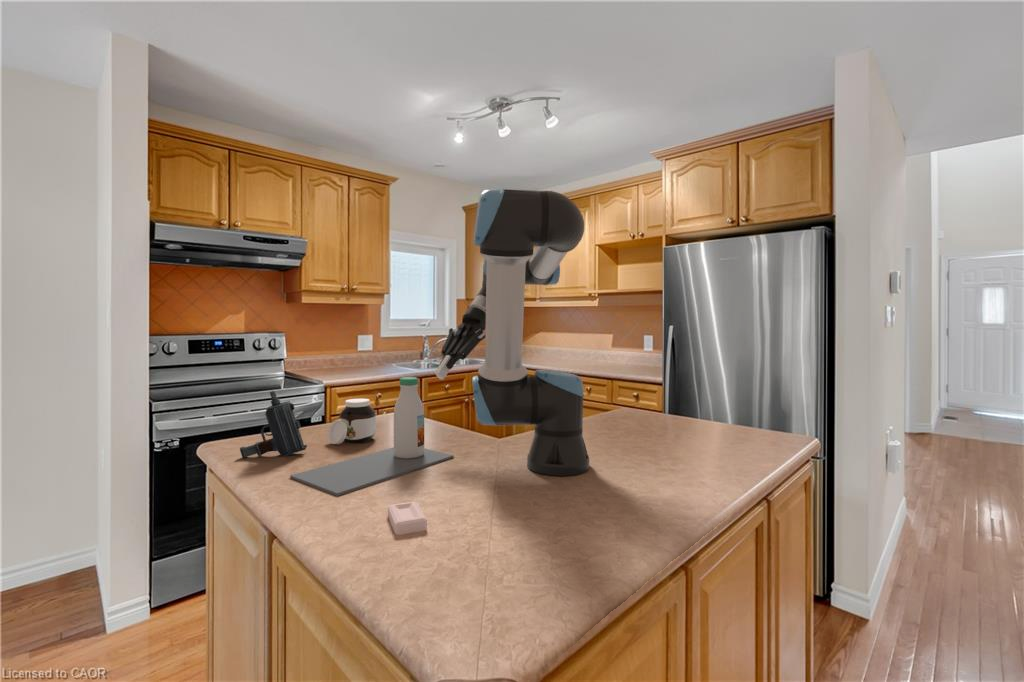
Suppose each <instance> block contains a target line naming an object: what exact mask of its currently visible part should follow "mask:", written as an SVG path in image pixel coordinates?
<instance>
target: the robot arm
mask: <svg viewBox="0 0 1024 682" xmlns="http://www.w3.org/2000/svg"><path fill="white" fill-rule="evenodd" d="M584 234H585V219H584V216H583V214H582V212H581V209H580V208H579V207H578V206H577V205H576V203H575V202H574V201H573V200H572V199H571V198H569V197H567V196H566V195H564V194H562V193H561V192H557V191H554V190H532V189H531V190H528V189H507V188H506V189H505V188H497V189H485V190H483V191H482V192H481V193H480V196H479V199H478V204H477V209H476V216H475V223H474V232H473V241H472V243H473V245H475V246H477V247H479V255H481V257H482V258H483V260H484V261H483V265H482V283H481V288H480V290H479V292H478V293H477V294H476V296H475V298H474V299H473V300H472V302H471V303H470V304H469V306H468V308H467V310H466V311H465V312H464V314H463V316H462V321H461V323H460V324H459V325H458V326H457V328H454V329H453V328H449V329H448V335H447V338H446V340H445V342H444V344H443V347H442V349H441V351H440V352H441V354H442V355H443V358H442V360H441V361H440V362H439V366H438V367H437V368H436V370H435V372H434V374H435V376H436V377H437V378H438V379H439V380H441V381H444V380H445V378H446V377H447V375H448V373H449V372H450V370H452V369H453V368H454V365H455V364H456V363H457V362H459V360H461V361H464V360H465V359H466V358H468V356H469V355H470V354H471V352H472V351H473V350H474V349H475V348H476V347H477V346H478V344H479V343H480V342H481V341H483V340H484V339H485V341H484V346H485V347H484V363H483V364H482V365H481V366H480V367H479V368H478V374H477V375H474V376H473V377H472V379H471V380H472V381H471V382H472V383H471V384H472V389H473V390H472V391H473V399H474V409H475V414H476V415H475V416H476V420H477V422H478V423H479V424H480V425H483V426H495V427H498V426H522V425H523V426H527V425H528V426H529V425H530V426H531V425H534V435H533V439H532V441H531V444H530V448H529V452H528V454H527V457H526V466H527V468H528V469H529V470H530V471H533V472H534V473H537V474H541V475H546V476H555V477H557V476H558V477H561V476H562V477H566V476H575V475H581V474H584V473H586V472H588V471H589V470H590V457H589V454H588V450H587V447H586V444H585V440H584V436H583V432H584V431H583V428H584V427H583V425H584V423H583V421H584V419H583V418H584V417H583V416H584V415H583V413H584V397H585V394H584V383H583V382H584V381H583V379H582V378H581V376H578V375H577V374H574V373H569V372H565V371H560V370H559V371H558V370H551V369H536V370H535V371H534V373H533V375H530V376H529V375H528V369H527V368H526V367H525V366H524V365H523V364H522V362H523V361H522V359H523V358H522V357H523V341H524V340H523V337H524V334H523V333H524V312H525V311H524V310H525V293H526V289H525V288H526V287H525V286H526V285H532V286H535V285H538V286H549V285H551V286H552V285H557V284H558V283H559V280H560V276H561V266H560V265H561V263H562V261H563V260H564V258H565V257H566V255H567V254H568V253H569V252H571V251H573V250H574V249H576V247H577V246H578V245H579V243H580V242H581V241H582V239H583V236H584ZM534 248H535V249H534ZM484 332H485V333H484Z"/></svg>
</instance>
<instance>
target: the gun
mask: <svg viewBox="0 0 1024 682" xmlns="http://www.w3.org/2000/svg"><path fill="white" fill-rule="evenodd" d="M269 394H270V398H271V400H270V403H271V405H270V406H268V407H266V411H265V413H264V414H265V418H266V419H267V423H268V424H266V425H264V426H263V427H262V428H261V430H260V435H261V437H262V441H257V442H256V443H255V444H251V445H249V446H241V447H239V451H240V454H241V457H242V459H246V458H248V457H251V456H253V455H254V456H255V455H257V456H258V457H261V456H263V455H264V454H266V453H269V452H278V454H280V456H281V457H283V458H284V457H286V456H289V455H292V454H296V453H300V452H302V451H306V449H307V448H308V445H307V444H305V443H304V441H303V438H302V437H303V436H302V435H301V431H300V429H301V428H302V427H301V423H300V420H297V419H296V416H295V413H294V410H295V409H296V408H295V405H294V403H291V401H290V400H287V401H283V402H281V401H280V398H278V397H277V394H276V391H275V390H273V391H270V392H269ZM266 428H269V430H270V433H264V430H265V429H266ZM265 435H266V436H267V437H271V438H269V439H266V436H265Z"/></svg>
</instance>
